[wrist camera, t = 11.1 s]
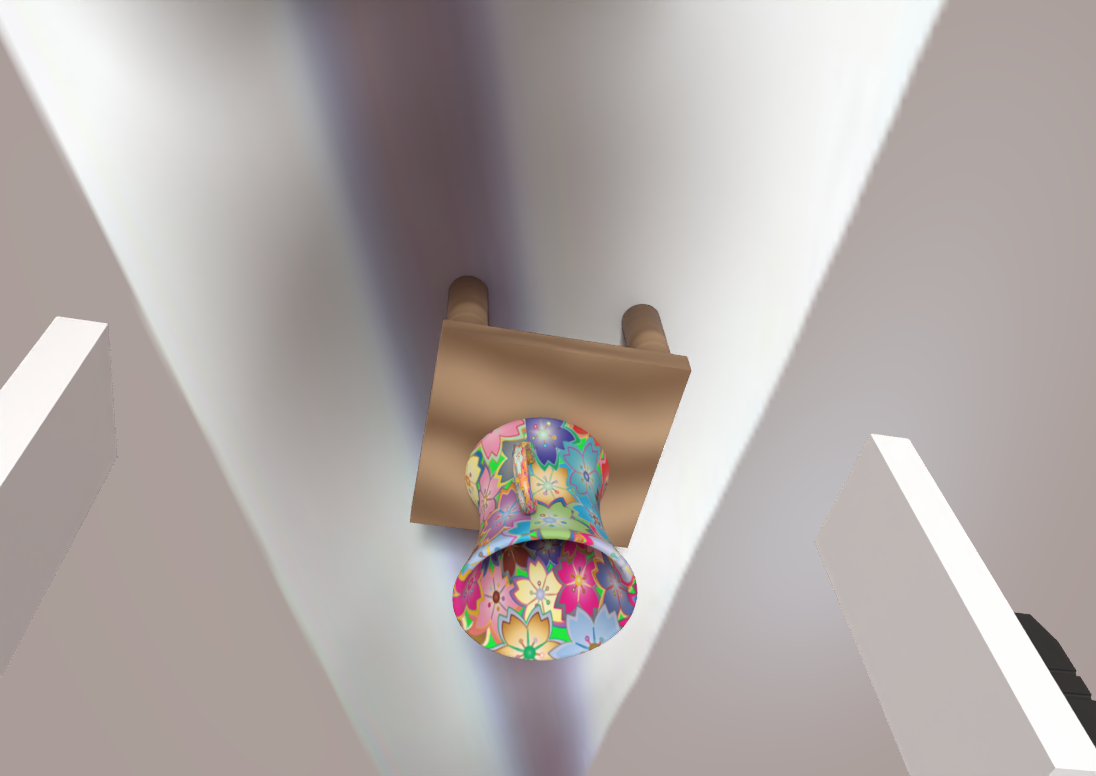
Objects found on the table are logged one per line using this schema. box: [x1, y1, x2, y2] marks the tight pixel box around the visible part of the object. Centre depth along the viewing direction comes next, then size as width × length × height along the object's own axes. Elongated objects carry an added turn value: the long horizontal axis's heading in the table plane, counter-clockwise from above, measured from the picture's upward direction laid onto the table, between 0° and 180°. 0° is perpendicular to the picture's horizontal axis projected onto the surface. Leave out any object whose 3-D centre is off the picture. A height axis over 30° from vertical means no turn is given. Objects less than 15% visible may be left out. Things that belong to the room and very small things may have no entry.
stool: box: [410, 276, 691, 548], centre depth 57 cm, size 14×14×7 cm
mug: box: [453, 417, 637, 660], centre depth 49 cm, size 12×9×11 cm
